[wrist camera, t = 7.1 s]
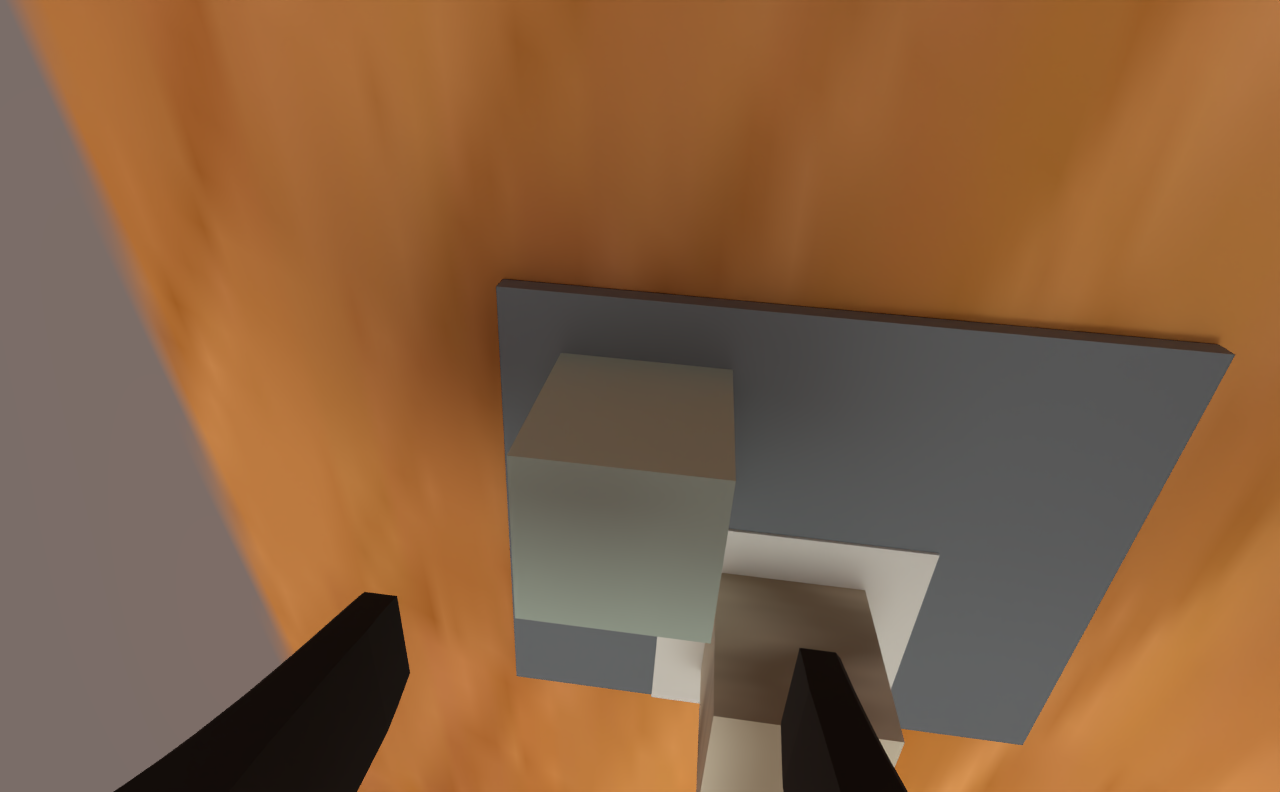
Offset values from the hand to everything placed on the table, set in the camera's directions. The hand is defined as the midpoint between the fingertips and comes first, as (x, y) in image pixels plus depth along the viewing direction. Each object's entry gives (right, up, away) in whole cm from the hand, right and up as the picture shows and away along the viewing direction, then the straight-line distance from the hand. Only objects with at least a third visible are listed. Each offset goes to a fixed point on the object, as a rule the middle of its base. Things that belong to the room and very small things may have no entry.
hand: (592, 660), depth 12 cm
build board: (+6, 0, +9) cm, 10 cm away
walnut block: (+5, -3, +10) cm, 11 cm away
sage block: (+1, +4, +7) cm, 8 cm away
